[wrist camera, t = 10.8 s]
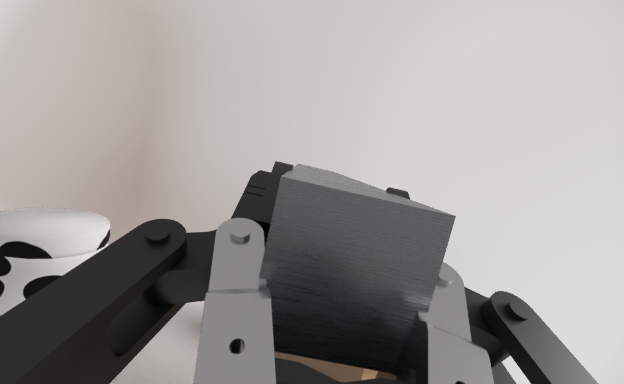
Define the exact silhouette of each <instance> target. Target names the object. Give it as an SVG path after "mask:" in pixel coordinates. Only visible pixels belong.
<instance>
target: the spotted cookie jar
mask: <svg viewBox="0 0 624 384" xmlns="http://www.w3.org/2000/svg"><path fill="white" fill-rule="evenodd" d="M109 237H110V222H109V221H108V219H107V218H105V217H103V216H101V215H99V214H96V213H92V212H88V211H82V210H74V209H65V208H21V209H10V210H6V211H0V316H1V315H3V314H4V313H6V312H7V311H9V310H10V309H12V308H13V307H15V306H16V305H18V304H19V303H21V302H23V301H24V300H26V299H27V298H29V297H30V296H32V295H33V294H35V293H36V292H38V291H39V290H41V289H43V288H44V287H46V286H47V285H49V284H50V283H52V282H53V281H55V280H56V279H58V278H59V277H61V276H63V275H64V274H66V273H67V272H69V271H70V270H72V269H73V268H75V267H76V266H78V265H79V264H81V263H82V262H84V261H86V260H87V259H89V258H90V257H92V256H93V255H95V254H96V253H98V252H99V251H101V250H102V249H104V248H106V247H107V246H108V241H109Z"/></svg>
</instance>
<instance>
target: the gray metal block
mask: <svg viewBox="0 0 624 384" xmlns="http://www.w3.org/2000/svg"><path fill="white" fill-rule="evenodd" d="M455 217H456V216H454V215H451V214H448V213H445V212H442V211H440V210H437V209H434V208H431V207H429V206H426V205H423V204H420V203H418V202H415V201H412V200H409V199H407V198H404V197H401V196H398V195H396V194H392V193H389V192H387V191H384V190H382V189H379V188H376V187H373V186H371V185H368V184H365V183H362V182H360V181H357V180H354V179H351V178H349V177H346V176H343V175H340V174H337V173H335V172H331V171H327V170H323V169H319V168H314V167H310V166H305V165H301V164H298V165H296V166H295V167H294V168H293V170H289V171H288V172H287V173H285V174H284V175H282V176H281V179H280V183H279V188H278V192H277V197H276V201H275V206H274V211H273V215H272V220H271V224H270V229H269V233H268V238H267V242H266V247H265V252H264V256H263V261H262V265H261V270H260V274H259V278H262V279H266V285H267V290H269V291H270V295H271V308H272V325H273V341H274V351H275V352H281V353H286V354H291V355H296V356H301V357H307V358H312V359H317V360H322V361H328V362H333V363H338V364H343V365H348V366H354V367H359V368H364V369H369V370H374V371H380V372H385V373H390V374H391V373H392V371H393V369H394V366H395V364H396V362H397V359H398V357H399V355H400V352H401V350H402V348H403V345H404V343H405V341H406V339H407V336H408V334H409V331H410V329H411V327H412V324H413V322H414V320H415V317H416V315H417V313H418V311H423V312H428V311H429V307H430V304H431V300H432V297H433V293H434V290H435V286H436V283H437V279H438V276H439V272H440V269H441V265H442V262H443V258H444V255H445V252H446V248H447V245H448V241H449V238H450V234H451V231H452V227H453V224H454V220H455Z"/></svg>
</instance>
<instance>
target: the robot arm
mask: <svg viewBox="0 0 624 384" xmlns="http://www.w3.org/2000/svg"><path fill="white" fill-rule="evenodd" d="M289 170H293V165H290V164H285V163H281V162H277V161H276V162H275V164H274V167H273V170H272V172H271V173H270V172H265V171H261V170H260V171H258V172H257V173H255V174H254V175H252V176H251V178H250V180H249V182H248V184H247V186H246V188H245V191H244V193H243V195H242V197H241V199H240V201H239V203H238V205H237V207H236V209H235V211H234V213H233V216H232V217H231V219H230V220H227V221H225V222H223V223H222V224H221V225H220V226H219V227H218V229H217V230H214V231H210V232H198V233H197V232H196V233H186V230H185V228H184V227H183V226H182V225H181V224H180V223H179V222H176V221H174V220H170V219H156V220H151V221H148V222H145V223H143V224H141V225H140V226H138V227H136V228H135V229H133V230H132V231H130V232H129V233H127V234H126V235H124V236H123V237H121V238H119V239H118V240H116V241H115V242H113V243H112V244H110V245H109V246H107V247H106V248H104V249H102V250H101V251H99V252H98V253H96V254H95V255H93V256H92V257H90V258H89V259H87V260H86V261H84V262H82V263H81V264H79V265H78V266H76V267H75V268H73V269H72V270H70V271H69V272H67V273H66V274H64V275H63V276H61V277H59V278H58V279H56V280H55V281H53V282H52V283H50V284H49V285H47V286H46V287H44V288H43V289H41V290H39V291H38V292H36V293H35V294H33V295H32V296H30V297H29V298H27V299H26V300H24V301H23V302H21V303H19V304H18V305H16V306H15V307H13V308H12V309H10V310H9V311H7V312H6V313H4V314H3V315H1V316H0V384H110V382H111V381H112V380H113V379H114V378H115V377H116V376H117V375H118V374H119V373H120V372H121V371H122V370H123V369H124V368H125V367H126V366H127V365H128V364H129V362H130V361H131V360H132V359H133V358H134V357H135V356H136V355H137V354H138V353H139V352H140V351H141V350H142V349H143V348H144V347H145V346H146V345H147V344H148V342H149V341H150V340H151V339H152V338H153V337H154V336H155V335H156V334H157V333H158V332H159V331H160V330H161V329H162V328H163V327H164V326H165V325H166V323H167V322H168V321H169V320H170V319H171V318H172V317H173V316H174V315H175V314H176V313H177V312H178V311H179V310H180V309H181V308H182V307H183V306H184V305H185V303H188V302H196V301H205V304H204V311H203V318H202V325H201V333H200V340H199V347H198V355H197V362H196V369H195V376H194V384H516V382H515V381H514V380H513V378H512V377H511V375H510V374H509V372H508V371H507V369H506V368H505V367H504V365H503V364H502V361H503V360H505V359H506V358H507V357H509V356H510V355H511V357H512V358H513V359H514V361H515V362H516V363H517V365H518V366H519V368H520V369H521V370H522V372H523V373H524V374H525V376H526V377H527V379H528V380H529V381H530V383H531V384H598V383H597V382H596V380H595V379H594V378H593V377H592V376H591V375H590V374H589V373H588V372H587V370H586V369H585V368H584V367H583V366H582V365H581V364H580V362H579V361H578V360H577V359H576V358H575V357H574V356H573V355H572V353H571V352H570V351H569V350H568V349H567V348H566V347H565V345H563V343H562V342H561V341H560V340H559V339H558V338H557V336H556V335H555V334H554V333H553V332H552V331H551V330H550V328H549V327H548V326H547V325H546V324H545V323H544V322H543V321H542V319H541V318H540V317H539V316H538V315H537V314H536V313H535V312H534V310H533V309H532V308H531V307H530V306H529V305H528V304H527V303H525V302H524V301H523V300H521V299H520V298H518V297H517V296H515V295H513V294H511V293H508V292H503V291H498V292H495V293H494V294H493V295H492V296H491V297H490V298H487V297H485V296H482V295H480V294H478V293H476V292H474V291H472V290H470V289H468V288H466V287H464V283H463V281H462V279H461V277H460V276H459V274H458V273H457V272H456V271H455V270H454V269H453V268H452V267H450V266H449V265H448V264H446V263H444V262H442V265H441V269H440V272H439V276H438V279H437V283H436V286H435V290H434V293H433V297H432V300H431V304H430V307H429V311H428V312H423V311H418V313H417V315H416V317H415V320H414V322H413V324H412V327H411V329H410V331H409V334H408V336H407V339H406V341H405V343H404V345H403V348H402V350H401V352H400V355H399V357H398V359H397V362H396V364H395V366H394V369H393V371H392V373H391V374H390V373H385V372H380V371H378V373H377V375H376V378H375V379H367V380H359V381H351V382H339V381H337V380H335V379H333V378H331V377H329V376H327V375H325V374H323V373H321V372H319V371H317V370H315V369H313V368H311V367H309V366H307V365H305V364H303V363H301V362H296V361H290V360H285V359H280V358H274V341H273V325H272V308H271V295H270V291H269V290H267V285H266V279H262V278H259V274H260V270H261V265H262V261H263V256H264V252H265V247H266V242H267V238H268V233H269V229H270V224H271V220H272V215H273V211H274V206H275V201H276V197H277V192H278V188H279V183H280V179H281V176H282V175H284V174H285V173H287V172H288V171H289ZM386 191H387V192H389V193H392V194H396V195H398V196H401V197H404V198H407V199H409V200H410V197H409V194H408V192H406V191H403V190H398V189H394V188H388V189H387V190H386Z"/></svg>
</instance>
